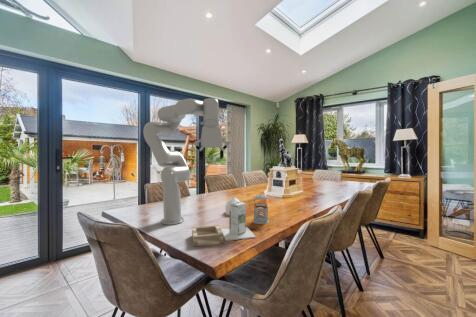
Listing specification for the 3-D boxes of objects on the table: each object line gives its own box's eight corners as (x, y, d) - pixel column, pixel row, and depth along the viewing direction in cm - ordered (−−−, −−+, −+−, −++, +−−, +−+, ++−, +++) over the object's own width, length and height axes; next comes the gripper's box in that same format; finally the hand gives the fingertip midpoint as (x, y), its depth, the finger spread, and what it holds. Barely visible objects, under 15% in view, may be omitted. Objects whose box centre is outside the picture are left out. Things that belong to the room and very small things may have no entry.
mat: (220, 230, 119) (220, 229, 119) (247, 227, 123) (247, 226, 123) (226, 240, 106) (226, 239, 106) (255, 237, 109) (255, 236, 109)
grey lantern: (269, 224, 128) (268, 178, 127) (248, 223, 130) (247, 178, 129) (270, 219, 137) (270, 176, 136) (250, 218, 140) (250, 176, 139)
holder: (192, 235, 112) (191, 227, 112) (218, 233, 115) (218, 225, 115) (193, 246, 100) (193, 237, 99) (223, 243, 103) (223, 234, 103)
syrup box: (237, 229, 118) (236, 201, 118) (246, 232, 114) (245, 202, 114) (229, 232, 114) (228, 203, 113) (238, 235, 110) (238, 204, 110)
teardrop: (244, 214, 147) (244, 195, 147) (226, 216, 145) (226, 196, 144) (240, 210, 158) (240, 192, 158) (224, 211, 156) (223, 193, 155)
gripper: (193, 123, 110) (194, 159, 111) (229, 123, 114) (230, 159, 115) (192, 124, 117) (193, 159, 118) (226, 125, 122) (227, 158, 122)
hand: (211, 159), depth 117 cm, fingers open, 9 cm apart
